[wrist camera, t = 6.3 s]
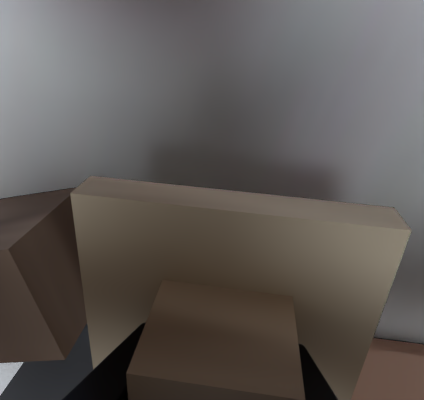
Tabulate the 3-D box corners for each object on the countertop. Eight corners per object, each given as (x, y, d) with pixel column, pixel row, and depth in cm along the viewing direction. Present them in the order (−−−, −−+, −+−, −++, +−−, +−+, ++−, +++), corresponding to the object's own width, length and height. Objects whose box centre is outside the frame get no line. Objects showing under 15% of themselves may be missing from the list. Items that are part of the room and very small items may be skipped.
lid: (329, 408, 11) (357, 560, 8) (110, 374, 11) (54, 504, 8) (394, 207, 8) (484, 326, 5) (90, 176, 8) (-10, 262, 5)
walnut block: (79, 187, 13) (7, 249, 9) (114, 276, 14) (65, 359, 11) (-16, 201, 13) (-117, 263, 10) (27, 285, 15) (-46, 365, 11)
